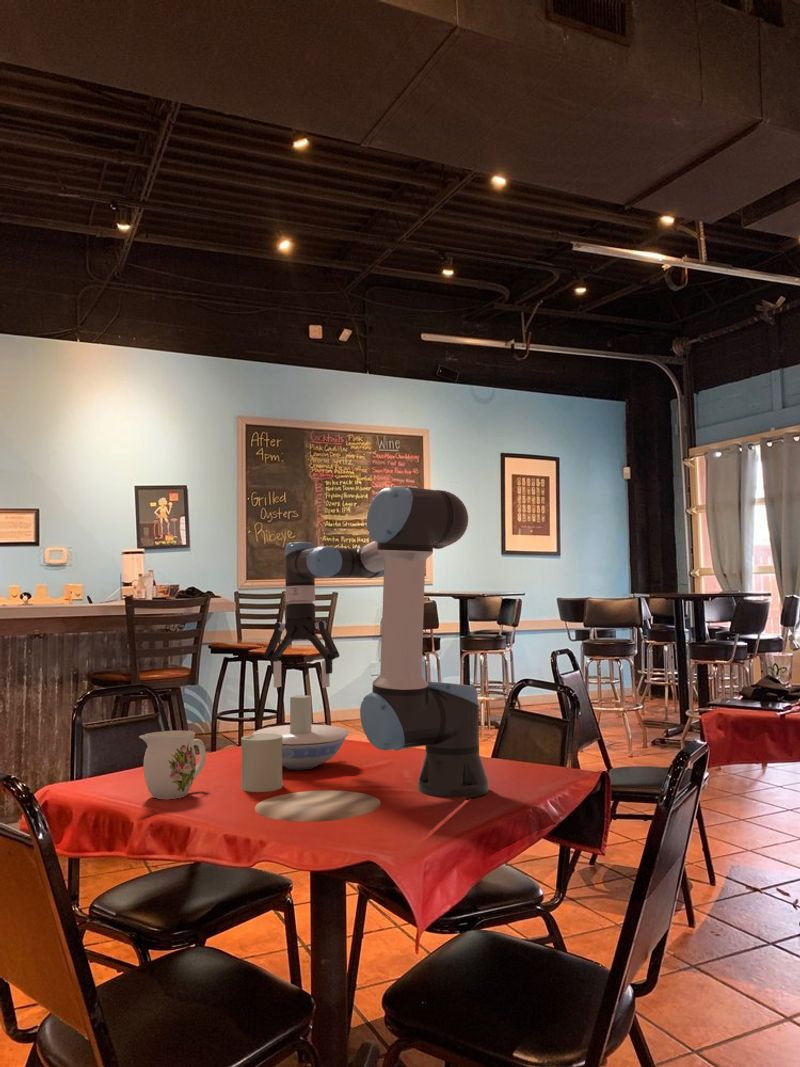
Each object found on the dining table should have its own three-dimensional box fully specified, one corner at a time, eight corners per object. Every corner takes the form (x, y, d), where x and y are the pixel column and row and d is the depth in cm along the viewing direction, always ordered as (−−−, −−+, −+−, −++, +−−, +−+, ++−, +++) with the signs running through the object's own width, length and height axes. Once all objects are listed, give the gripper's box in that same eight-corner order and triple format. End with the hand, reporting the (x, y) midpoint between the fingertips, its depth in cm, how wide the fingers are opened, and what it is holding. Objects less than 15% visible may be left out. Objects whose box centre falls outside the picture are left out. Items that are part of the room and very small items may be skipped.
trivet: (398, 797, 168) (398, 794, 168) (350, 829, 145) (350, 825, 145) (291, 790, 177) (291, 787, 177) (230, 819, 153) (230, 815, 153)
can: (237, 787, 180) (238, 733, 181) (278, 784, 183) (278, 730, 184) (243, 796, 171) (244, 739, 173) (286, 792, 175) (286, 736, 176)
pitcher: (221, 789, 178) (222, 726, 179) (157, 807, 163) (158, 738, 164) (187, 784, 184) (187, 723, 185) (122, 801, 169) (123, 734, 170)
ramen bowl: (270, 781, 186) (270, 745, 186) (238, 765, 205) (238, 733, 206) (366, 769, 198) (366, 735, 199) (326, 755, 218) (326, 724, 219)
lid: (362, 729, 210) (362, 692, 210) (324, 747, 187) (324, 705, 188) (280, 724, 218) (281, 688, 218) (234, 740, 195) (234, 700, 196)
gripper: (250, 604, 206) (250, 688, 204) (338, 601, 198) (340, 688, 196) (264, 604, 213) (265, 685, 211) (351, 601, 205) (352, 685, 203)
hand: (301, 687), depth 203 cm, fingers open, 13 cm apart
